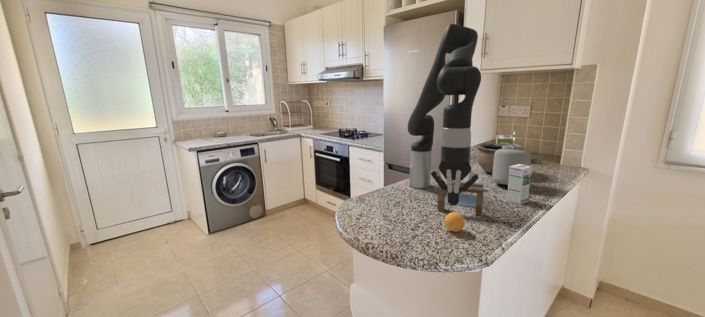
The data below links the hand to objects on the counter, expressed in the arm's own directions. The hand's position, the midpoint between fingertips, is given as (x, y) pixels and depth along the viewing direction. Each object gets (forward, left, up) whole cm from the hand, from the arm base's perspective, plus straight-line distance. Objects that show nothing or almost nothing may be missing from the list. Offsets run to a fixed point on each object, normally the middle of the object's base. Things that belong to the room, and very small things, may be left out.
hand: (452, 204), depth 82 cm
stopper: (0, +55, -12) cm, 56 cm away
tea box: (+17, +124, -13) cm, 126 cm away
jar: (+18, +67, -12) cm, 71 cm away
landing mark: (0, +39, -12) cm, 41 cm away
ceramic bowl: (+13, +88, -12) cm, 90 cm away
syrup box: (+20, +45, -12) cm, 51 cm away
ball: (0, +9, -9) cm, 13 cm away
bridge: (0, +25, -12) cm, 28 cm away
